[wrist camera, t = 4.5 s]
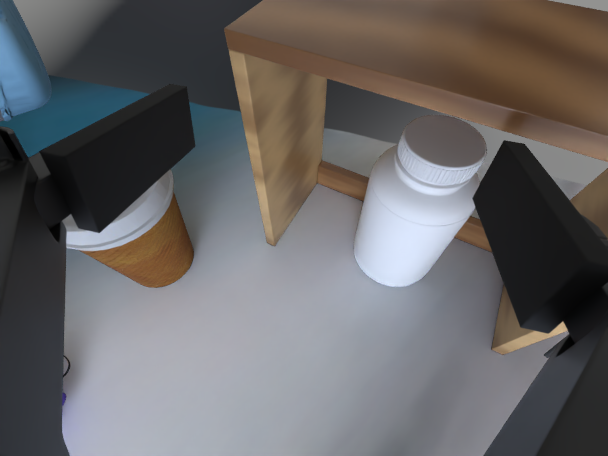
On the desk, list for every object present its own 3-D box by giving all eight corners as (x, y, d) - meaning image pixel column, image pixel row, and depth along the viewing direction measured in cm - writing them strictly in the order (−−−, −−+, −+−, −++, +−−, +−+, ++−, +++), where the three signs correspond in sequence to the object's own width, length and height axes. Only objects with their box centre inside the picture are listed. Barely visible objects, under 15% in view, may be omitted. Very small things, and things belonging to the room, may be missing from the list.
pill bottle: (398, 211, 35) (450, 89, 23) (445, 268, 31) (541, 160, 19) (337, 238, 33) (358, 121, 21) (380, 303, 29) (438, 208, 17)
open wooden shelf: (503, 355, 27) (887, 213, 9) (266, 243, 33) (223, 28, 15) (519, 255, 32) (783, 44, 14) (313, 174, 38) (321, -43, 21)
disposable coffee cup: (96, 297, 30) (-11, 230, 19) (137, 216, 35) (70, 130, 25) (192, 309, 29) (133, 246, 19) (220, 225, 34) (185, 140, 24)
